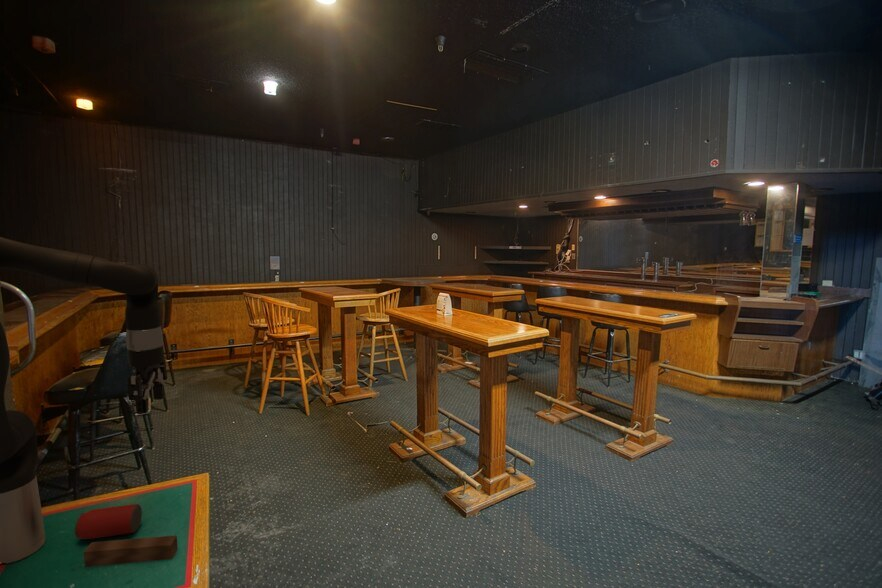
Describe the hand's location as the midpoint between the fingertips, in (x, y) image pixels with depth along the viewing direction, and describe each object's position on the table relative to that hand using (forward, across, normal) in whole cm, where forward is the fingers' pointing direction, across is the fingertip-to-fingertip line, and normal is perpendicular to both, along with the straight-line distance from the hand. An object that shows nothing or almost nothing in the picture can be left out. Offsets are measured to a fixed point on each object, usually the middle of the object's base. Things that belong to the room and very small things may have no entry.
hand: (150, 406), depth 110 cm
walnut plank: (+30, +16, +1) cm, 34 cm away
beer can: (+27, +6, -2) cm, 28 cm away
